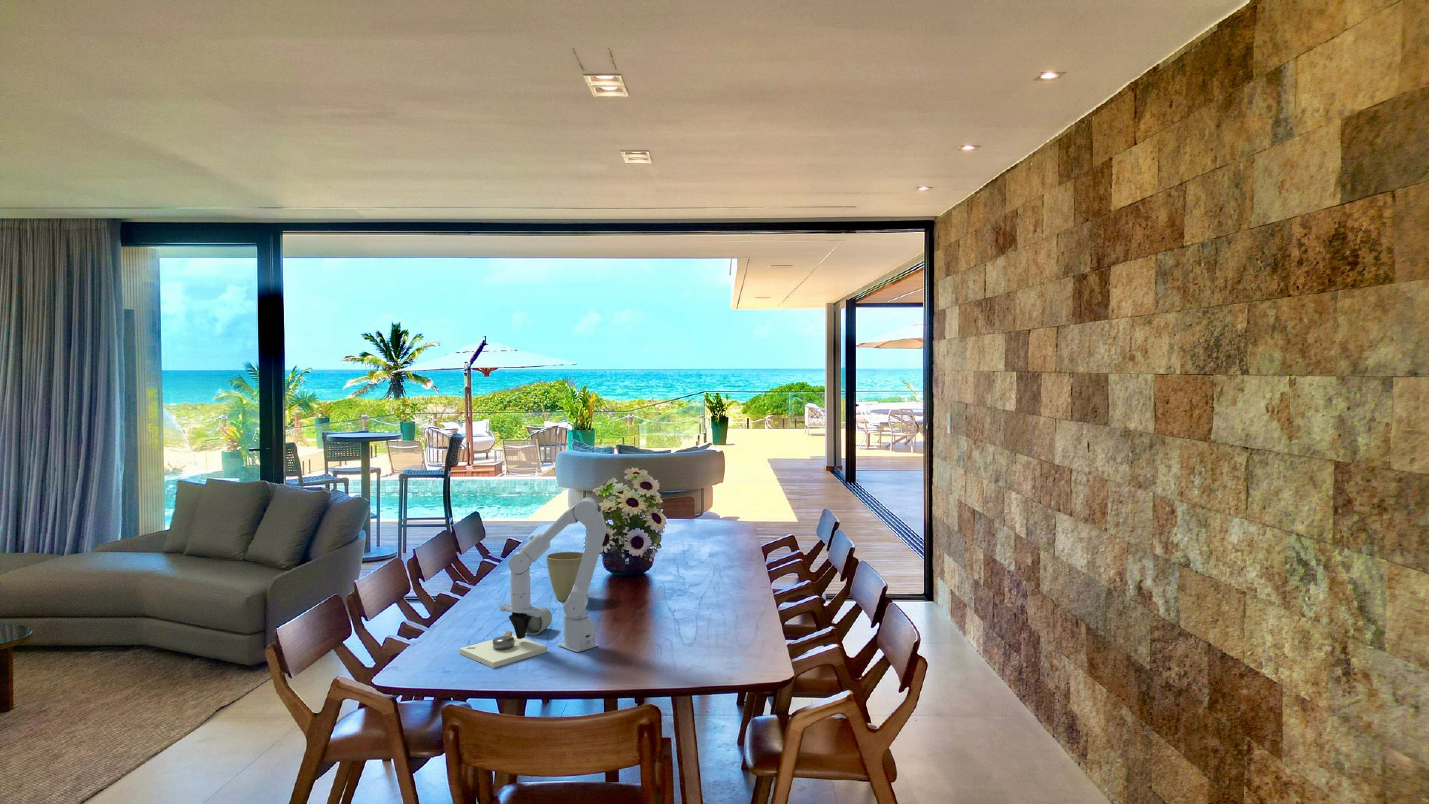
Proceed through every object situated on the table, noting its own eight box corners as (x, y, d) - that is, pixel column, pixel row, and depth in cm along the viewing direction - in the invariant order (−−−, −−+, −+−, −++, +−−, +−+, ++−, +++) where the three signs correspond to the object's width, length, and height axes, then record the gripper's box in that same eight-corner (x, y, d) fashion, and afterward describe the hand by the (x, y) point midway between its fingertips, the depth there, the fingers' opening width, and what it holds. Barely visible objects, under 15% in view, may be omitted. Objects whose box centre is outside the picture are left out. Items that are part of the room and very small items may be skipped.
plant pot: (583, 603, 279) (583, 559, 278) (542, 603, 279) (541, 559, 279) (591, 593, 294) (590, 551, 293) (551, 593, 294) (551, 551, 294)
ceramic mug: (554, 628, 250) (553, 604, 250) (543, 635, 242) (542, 611, 242) (523, 626, 252) (522, 603, 252) (511, 634, 244) (511, 610, 244)
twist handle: (511, 649, 224) (511, 642, 224) (490, 649, 223) (490, 642, 223) (519, 637, 235) (519, 630, 235) (499, 637, 234) (499, 631, 234)
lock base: (547, 651, 227) (547, 646, 227) (493, 668, 214) (492, 662, 214) (512, 638, 239) (512, 633, 239) (459, 653, 226) (459, 648, 226)
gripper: (548, 592, 232) (548, 637, 232) (511, 586, 238) (511, 630, 239) (532, 597, 225) (532, 644, 226) (495, 592, 232) (495, 637, 232)
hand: (520, 637), depth 232 cm, fingers closed
